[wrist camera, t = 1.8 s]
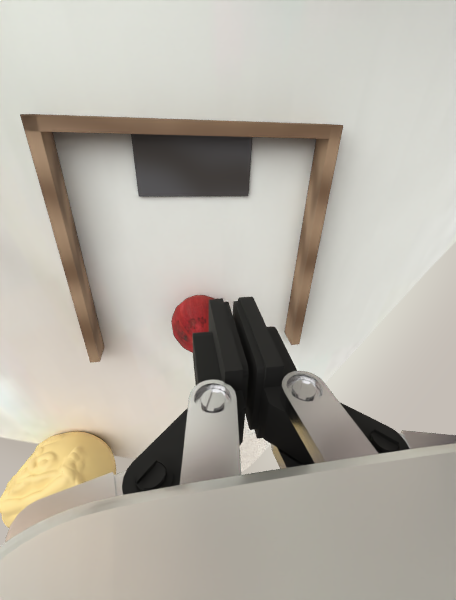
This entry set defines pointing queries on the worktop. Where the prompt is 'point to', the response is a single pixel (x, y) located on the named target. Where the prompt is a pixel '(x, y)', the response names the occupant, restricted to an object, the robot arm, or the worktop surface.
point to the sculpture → (56, 470)
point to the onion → (191, 319)
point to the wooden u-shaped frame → (181, 186)
